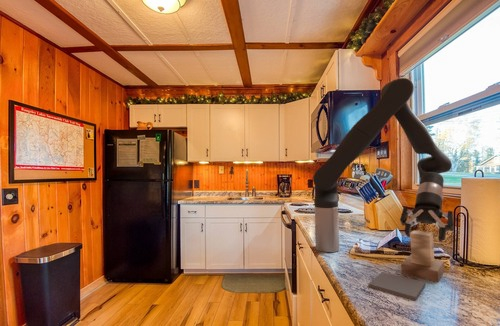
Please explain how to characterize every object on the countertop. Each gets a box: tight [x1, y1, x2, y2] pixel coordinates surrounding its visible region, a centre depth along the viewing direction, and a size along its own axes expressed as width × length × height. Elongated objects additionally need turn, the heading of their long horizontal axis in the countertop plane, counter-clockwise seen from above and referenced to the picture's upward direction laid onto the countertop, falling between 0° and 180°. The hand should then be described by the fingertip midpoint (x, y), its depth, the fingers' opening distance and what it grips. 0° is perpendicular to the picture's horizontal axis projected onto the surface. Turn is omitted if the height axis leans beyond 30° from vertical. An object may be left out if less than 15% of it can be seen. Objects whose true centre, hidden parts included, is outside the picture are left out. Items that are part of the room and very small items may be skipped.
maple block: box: [409, 229, 435, 266], centre depth 78 cm, size 5×5×9 cm
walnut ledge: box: [400, 254, 445, 283], centre depth 78 cm, size 9×11×3 cm
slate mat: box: [368, 271, 427, 301], centre depth 69 cm, size 11×11×1 cm
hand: (423, 237), depth 80 cm, fingers open, 8 cm apart
